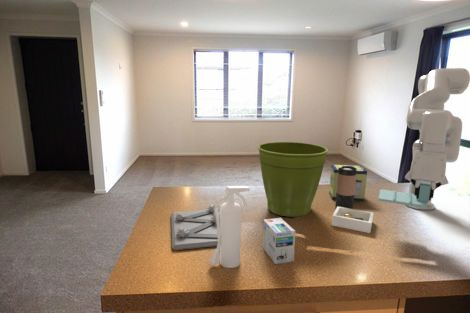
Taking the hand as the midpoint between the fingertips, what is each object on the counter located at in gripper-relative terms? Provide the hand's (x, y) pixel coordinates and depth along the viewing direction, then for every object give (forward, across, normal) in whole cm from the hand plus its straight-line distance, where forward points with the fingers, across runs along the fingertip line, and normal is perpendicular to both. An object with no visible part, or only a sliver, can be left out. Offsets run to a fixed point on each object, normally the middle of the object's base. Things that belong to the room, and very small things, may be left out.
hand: (423, 198), depth 109 cm
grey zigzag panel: (+17, -74, -32) cm, 82 cm away
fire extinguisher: (+17, -53, -47) cm, 72 cm away
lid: (+1, -6, 0) cm, 7 cm away
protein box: (+16, -30, +34) cm, 48 cm away
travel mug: (+16, -28, +14) cm, 35 cm away
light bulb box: (+16, -41, -35) cm, 56 cm away
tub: (+16, -22, 0) cm, 28 cm away
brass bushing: (+15, -24, +2) cm, 29 cm away
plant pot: (+16, -50, +4) cm, 53 cm away
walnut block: (+15, -20, -1) cm, 25 cm away
